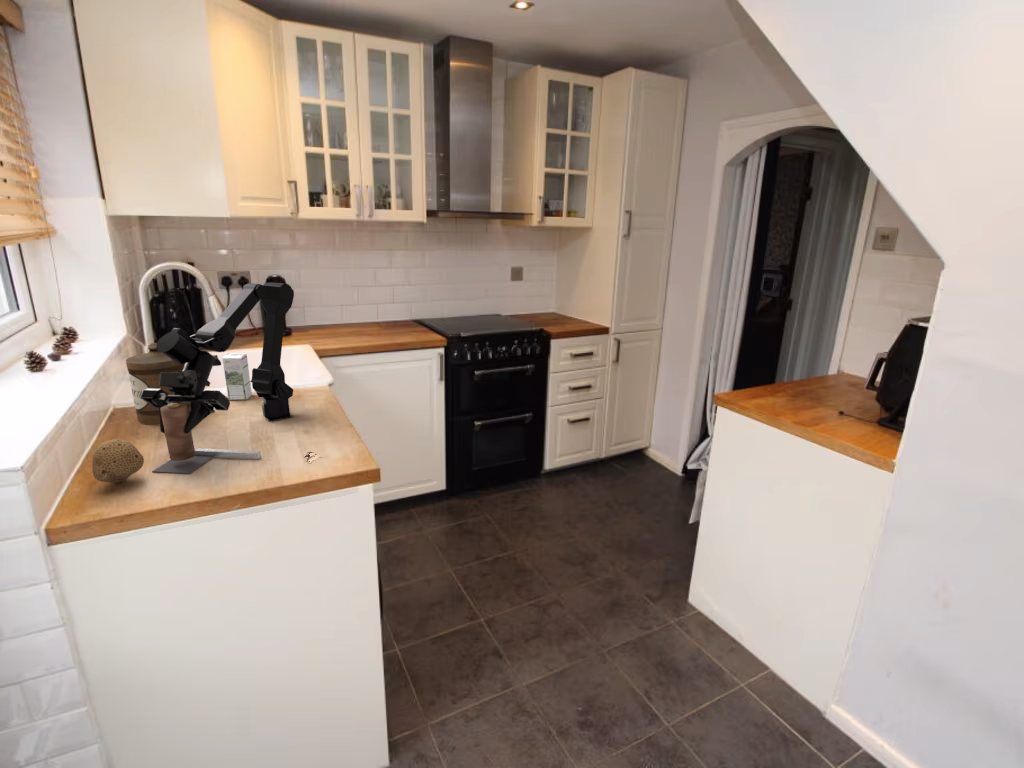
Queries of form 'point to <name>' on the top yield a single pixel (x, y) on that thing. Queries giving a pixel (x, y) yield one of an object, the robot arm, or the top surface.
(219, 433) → the top surface
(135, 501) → the top surface
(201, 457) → the grey square plate
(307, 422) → the top surface
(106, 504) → the top surface
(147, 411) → the wooden container
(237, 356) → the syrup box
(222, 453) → the steel straightedge
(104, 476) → the natural sponge
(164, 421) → the brown thread spool
